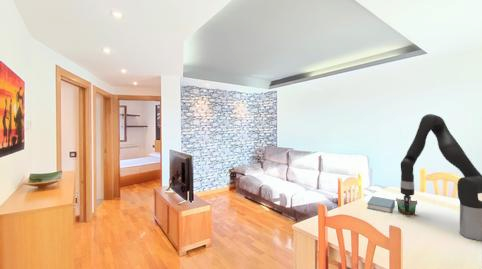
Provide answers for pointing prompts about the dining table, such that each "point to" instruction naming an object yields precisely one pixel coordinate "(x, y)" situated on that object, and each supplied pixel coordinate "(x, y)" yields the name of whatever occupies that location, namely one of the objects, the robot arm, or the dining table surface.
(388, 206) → the book
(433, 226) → the dining table surface
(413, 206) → the food container
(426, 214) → the dining table surface
